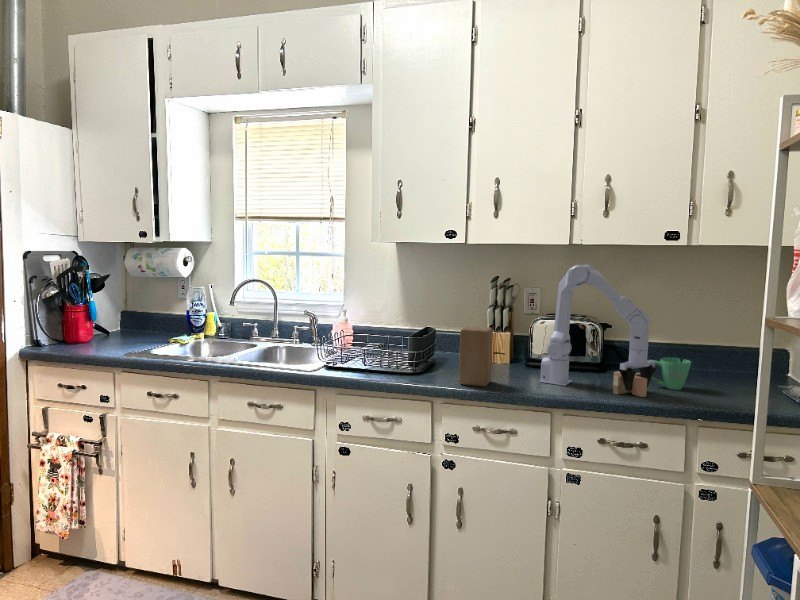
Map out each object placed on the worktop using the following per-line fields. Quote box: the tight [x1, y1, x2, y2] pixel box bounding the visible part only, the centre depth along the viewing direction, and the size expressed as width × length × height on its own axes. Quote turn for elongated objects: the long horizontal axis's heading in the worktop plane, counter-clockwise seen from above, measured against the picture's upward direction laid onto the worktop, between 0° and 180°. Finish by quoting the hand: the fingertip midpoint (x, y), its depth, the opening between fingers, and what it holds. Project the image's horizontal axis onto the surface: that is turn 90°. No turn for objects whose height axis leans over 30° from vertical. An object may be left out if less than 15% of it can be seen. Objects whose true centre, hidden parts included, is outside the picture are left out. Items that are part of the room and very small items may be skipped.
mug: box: [651, 357, 692, 391], centre depth 200 cm, size 15×10×10 cm
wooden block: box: [458, 325, 494, 388], centre depth 202 cm, size 10×10×20 cm
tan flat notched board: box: [612, 370, 648, 398], centre depth 193 cm, size 12×2×6 cm, turn 27°
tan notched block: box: [612, 372, 640, 395], centre depth 193 cm, size 12×2×6 cm, turn 117°
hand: (636, 389), depth 190 cm, fingers open, 7 cm apart
